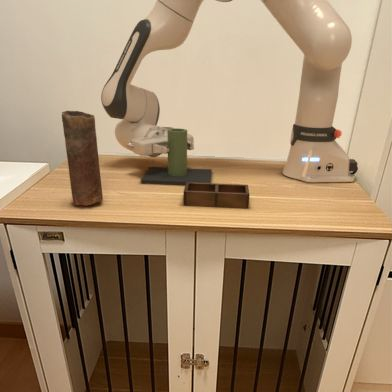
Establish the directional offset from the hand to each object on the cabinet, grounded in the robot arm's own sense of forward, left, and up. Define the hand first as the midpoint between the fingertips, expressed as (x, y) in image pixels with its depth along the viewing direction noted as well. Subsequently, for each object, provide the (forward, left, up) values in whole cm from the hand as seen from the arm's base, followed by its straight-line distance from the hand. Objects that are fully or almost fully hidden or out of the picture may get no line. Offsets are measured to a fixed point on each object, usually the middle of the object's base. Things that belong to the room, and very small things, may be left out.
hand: (180, 148), depth 119 cm
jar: (+1, -1, -7) cm, 7 cm away
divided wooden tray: (-11, +21, -8) cm, 26 cm away
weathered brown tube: (+21, +27, -9) cm, 35 cm away
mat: (+1, -1, -8) cm, 8 cm away
